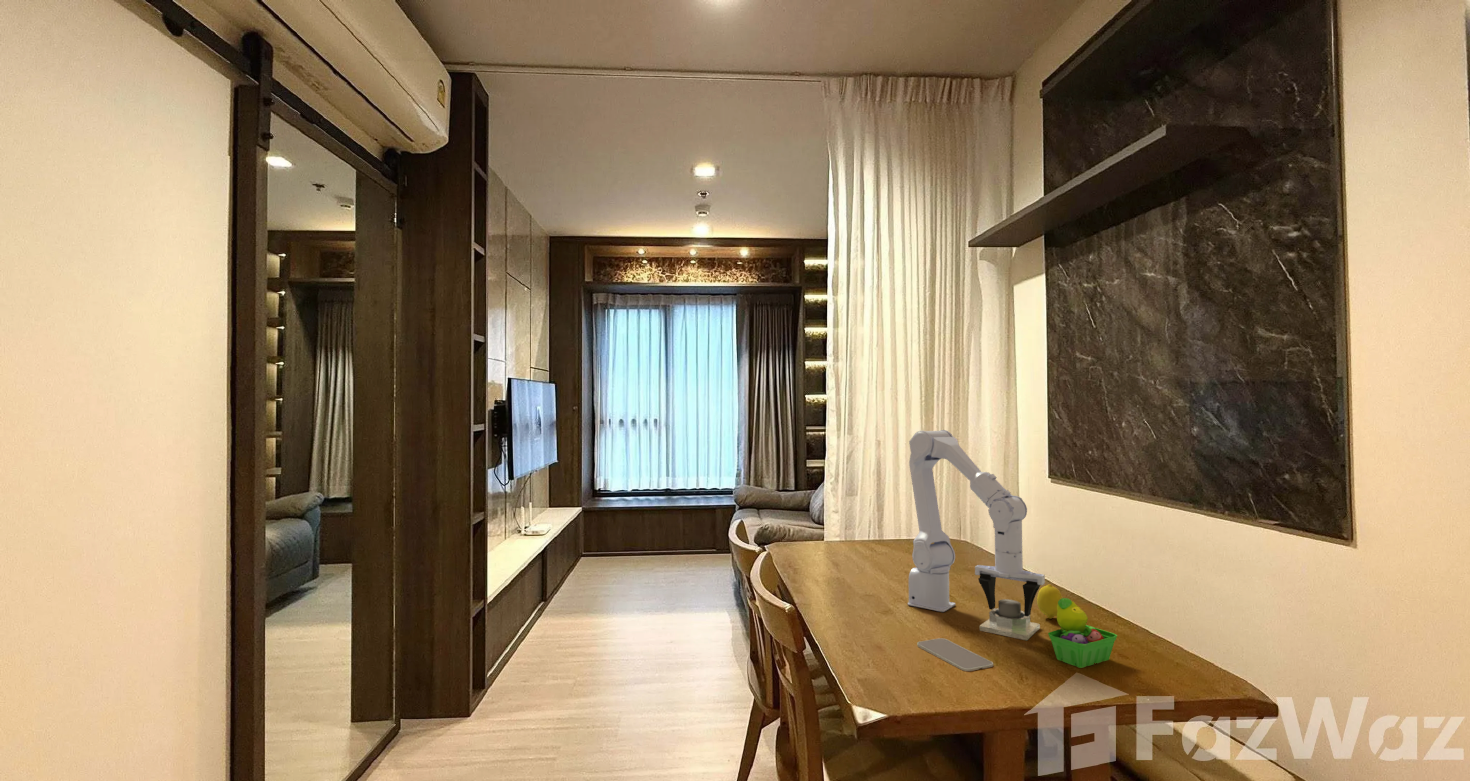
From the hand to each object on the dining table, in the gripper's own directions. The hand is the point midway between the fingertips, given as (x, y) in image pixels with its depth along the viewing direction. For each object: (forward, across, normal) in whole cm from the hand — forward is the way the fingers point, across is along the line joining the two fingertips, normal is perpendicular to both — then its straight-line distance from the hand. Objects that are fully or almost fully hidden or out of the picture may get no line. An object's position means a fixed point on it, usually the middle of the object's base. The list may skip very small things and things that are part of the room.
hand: (1009, 611), depth 144 cm
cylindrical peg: (+3, 0, 0) cm, 3 cm away
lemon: (+4, +5, +14) cm, 15 cm away
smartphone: (+4, -4, -23) cm, 24 cm away
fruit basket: (+4, +16, -9) cm, 19 cm away
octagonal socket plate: (+4, 0, 0) cm, 4 cm away
